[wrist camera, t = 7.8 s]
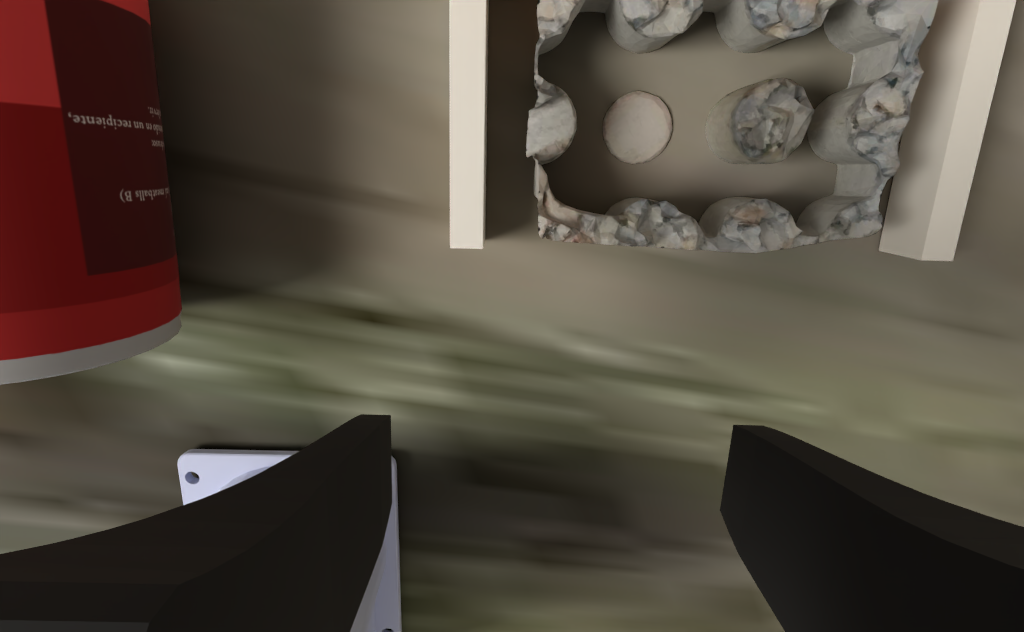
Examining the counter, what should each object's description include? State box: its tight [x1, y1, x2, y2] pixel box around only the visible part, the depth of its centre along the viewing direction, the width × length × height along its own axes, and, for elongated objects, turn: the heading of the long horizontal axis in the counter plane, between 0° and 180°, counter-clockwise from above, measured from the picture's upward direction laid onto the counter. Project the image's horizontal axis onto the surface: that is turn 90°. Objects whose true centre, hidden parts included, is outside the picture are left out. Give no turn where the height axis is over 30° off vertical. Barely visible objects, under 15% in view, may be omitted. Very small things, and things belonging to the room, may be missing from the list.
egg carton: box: [526, 0, 939, 253], centre depth 16 cm, size 11×8×4 cm
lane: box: [450, 0, 1016, 261], centre depth 14 cm, size 14×16×6 cm
